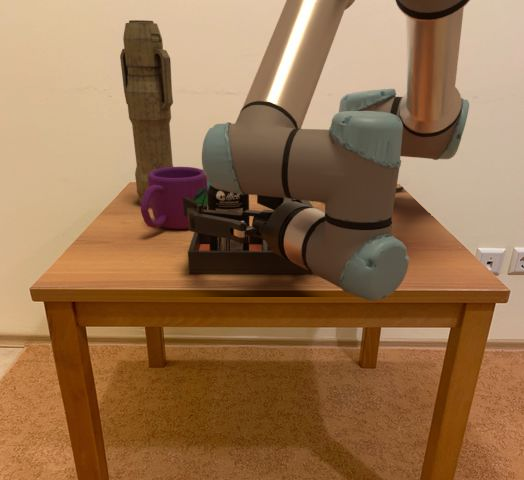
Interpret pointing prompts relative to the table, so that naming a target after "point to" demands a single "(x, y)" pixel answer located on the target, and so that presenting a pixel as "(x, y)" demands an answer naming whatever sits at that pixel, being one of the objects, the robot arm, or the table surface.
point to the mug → (173, 195)
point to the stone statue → (147, 98)
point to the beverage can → (228, 203)
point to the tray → (238, 259)
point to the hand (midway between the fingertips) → (223, 200)
